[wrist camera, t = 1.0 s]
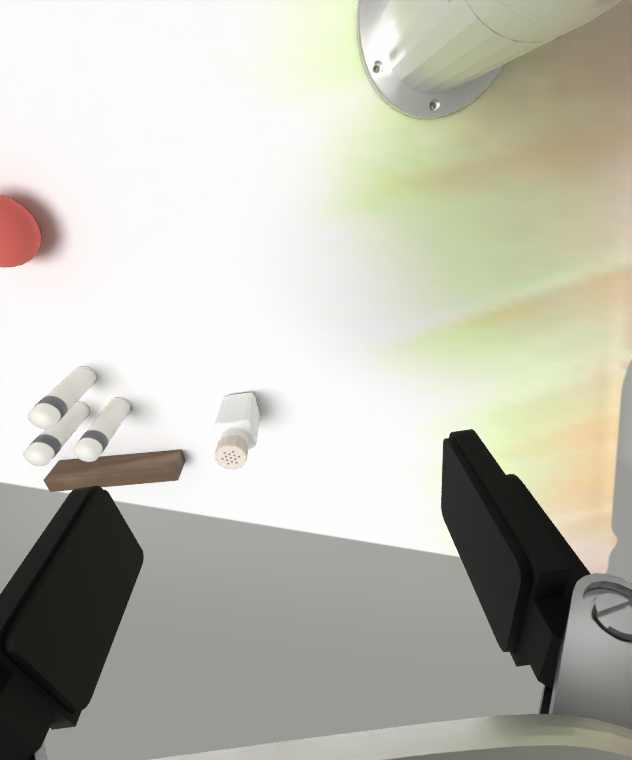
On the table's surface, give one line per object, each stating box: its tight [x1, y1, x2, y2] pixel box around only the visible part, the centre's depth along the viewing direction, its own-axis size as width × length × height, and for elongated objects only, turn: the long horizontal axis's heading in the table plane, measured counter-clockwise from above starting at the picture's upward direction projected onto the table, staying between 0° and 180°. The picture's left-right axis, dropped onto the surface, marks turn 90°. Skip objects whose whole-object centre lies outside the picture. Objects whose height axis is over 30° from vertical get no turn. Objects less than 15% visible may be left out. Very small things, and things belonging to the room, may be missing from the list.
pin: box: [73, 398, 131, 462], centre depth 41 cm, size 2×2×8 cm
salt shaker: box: [214, 392, 260, 469], centre depth 42 cm, size 4×4×10 cm
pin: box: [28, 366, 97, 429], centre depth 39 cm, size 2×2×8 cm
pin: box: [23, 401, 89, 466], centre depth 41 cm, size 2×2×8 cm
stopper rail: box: [44, 450, 185, 492], centre depth 48 cm, size 2×16×4 cm, turn 94°
